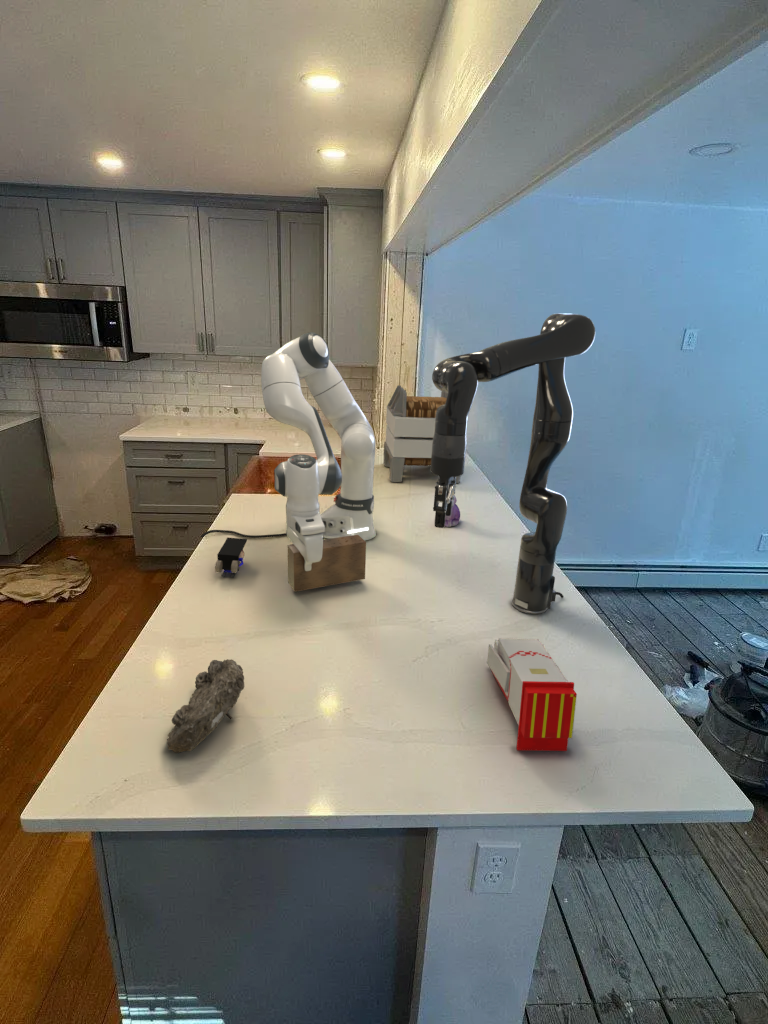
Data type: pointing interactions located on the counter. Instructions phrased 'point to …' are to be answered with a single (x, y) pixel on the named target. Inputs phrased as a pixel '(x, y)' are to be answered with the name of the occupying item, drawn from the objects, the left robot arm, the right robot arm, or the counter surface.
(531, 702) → the toy
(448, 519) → the figurine
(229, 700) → the fossil
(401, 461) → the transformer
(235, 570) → the black wheeled rover
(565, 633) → the counter surface
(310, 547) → the left robot arm
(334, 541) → the box
